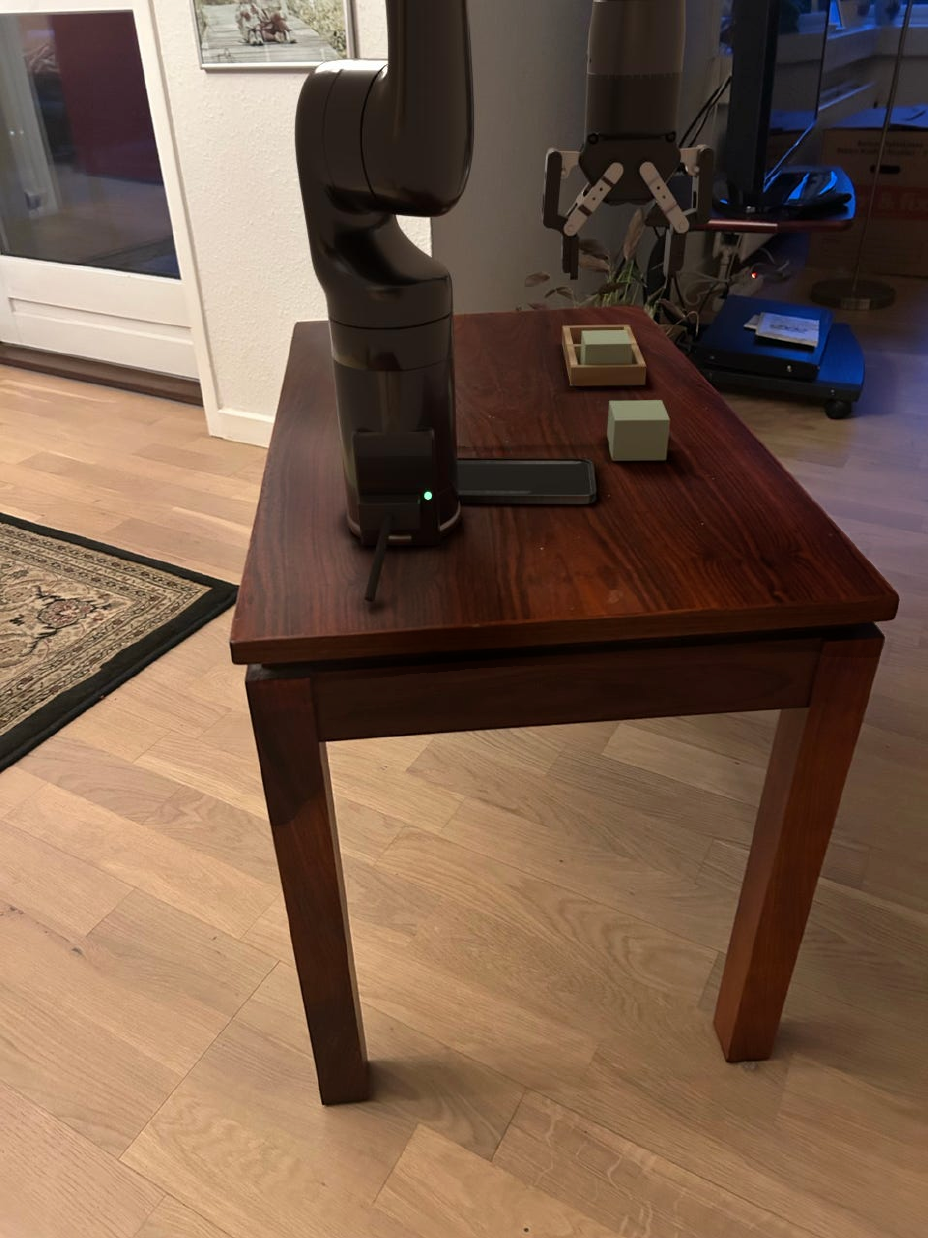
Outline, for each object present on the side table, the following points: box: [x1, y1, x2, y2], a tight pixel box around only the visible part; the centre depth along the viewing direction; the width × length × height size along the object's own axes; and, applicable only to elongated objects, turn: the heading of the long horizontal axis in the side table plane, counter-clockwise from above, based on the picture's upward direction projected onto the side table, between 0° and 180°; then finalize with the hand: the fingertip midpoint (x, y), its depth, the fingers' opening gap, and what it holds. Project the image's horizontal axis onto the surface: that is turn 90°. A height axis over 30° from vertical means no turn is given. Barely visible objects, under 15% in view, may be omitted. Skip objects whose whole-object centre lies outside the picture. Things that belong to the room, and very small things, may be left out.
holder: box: [561, 324, 647, 387], centre depth 109 cm, size 15×8×3 cm, turn 179°
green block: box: [606, 399, 671, 462], centre depth 89 cm, size 5×5×4 cm
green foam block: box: [580, 330, 632, 365], centre depth 105 cm, size 5×5×4 cm
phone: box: [457, 457, 597, 505], centre depth 84 cm, size 8×1×15 cm
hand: (621, 276), depth 84 cm, fingers open, 8 cm apart
